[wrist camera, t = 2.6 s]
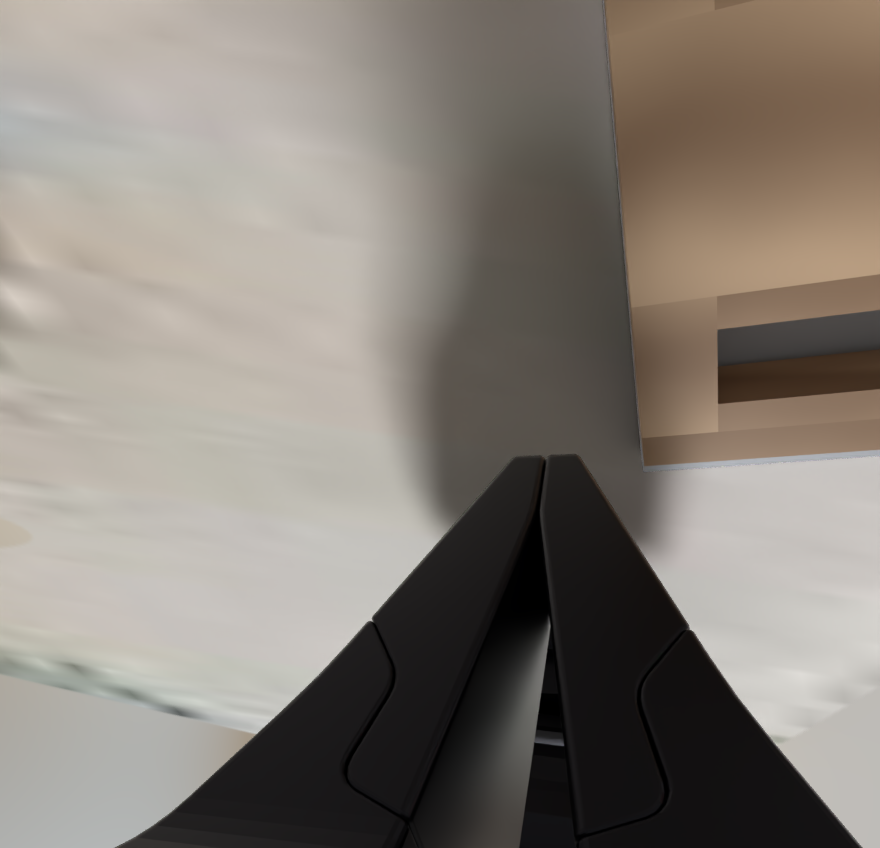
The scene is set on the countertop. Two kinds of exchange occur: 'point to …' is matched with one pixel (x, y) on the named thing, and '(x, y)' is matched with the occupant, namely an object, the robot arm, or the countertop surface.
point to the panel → (747, 216)
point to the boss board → (781, 352)
